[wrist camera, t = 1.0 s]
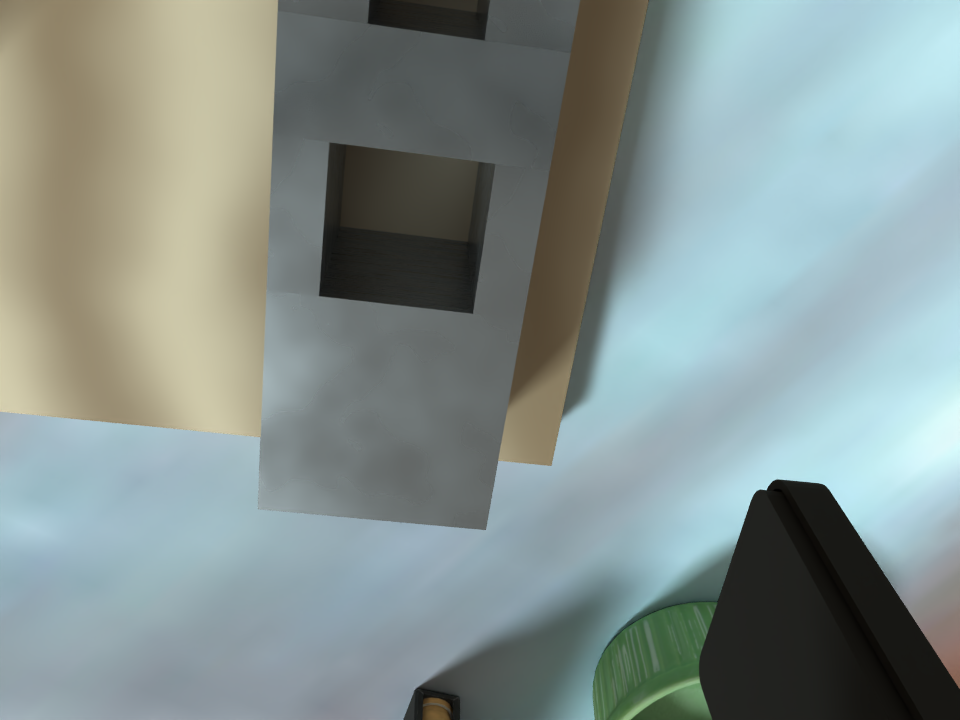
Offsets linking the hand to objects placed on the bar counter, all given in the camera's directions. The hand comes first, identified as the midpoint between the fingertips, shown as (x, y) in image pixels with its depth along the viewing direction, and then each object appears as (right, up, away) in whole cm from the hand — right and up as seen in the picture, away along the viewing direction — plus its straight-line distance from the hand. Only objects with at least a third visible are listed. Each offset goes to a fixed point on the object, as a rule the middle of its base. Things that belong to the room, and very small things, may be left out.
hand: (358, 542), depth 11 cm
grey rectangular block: (0, +7, +14) cm, 16 cm away
